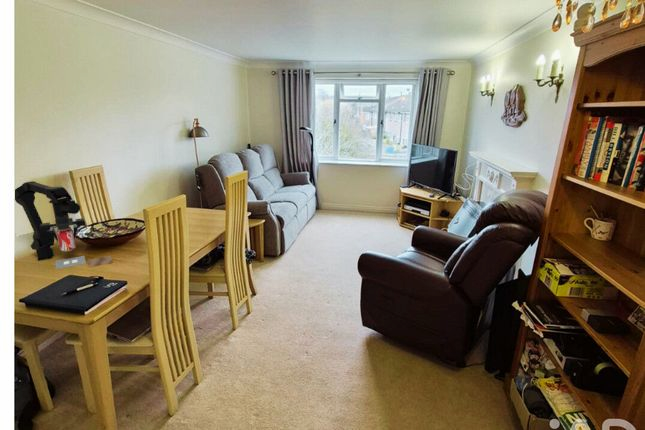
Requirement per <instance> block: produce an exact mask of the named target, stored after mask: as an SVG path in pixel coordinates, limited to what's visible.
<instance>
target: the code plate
mask: <svg viewBox="0 0 645 430" xmlns="http://www.w3.org/2000/svg"><path fill="white" fill-rule="evenodd" d="M86 262H87V261H86V258H85V255H82V256H75V257H69V258H64V259H59V260H55V270H59V269H65V268H70V267H75V266H80V265H81V266H82V265H85V264H87V263H86Z"/></svg>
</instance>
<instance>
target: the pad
mask: <svg viewBox="0 0 645 430" xmlns="http://www.w3.org/2000/svg"><path fill="white" fill-rule="evenodd" d="M112 263H114V261H113V258H112V255H105V256H102V257H101V256H99V257H96V258H89V259H87V265H88V268H93V267H98V266H103V265H108V264H112Z"/></svg>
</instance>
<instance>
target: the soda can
mask: <svg viewBox="0 0 645 430" xmlns="http://www.w3.org/2000/svg"><path fill="white" fill-rule="evenodd" d="M56 230H57V231H56V234H57V238H58V247H59V250H60V251H62V252H71V251H73V250H74V249H76V240H75V239H76V238H75V239H74V230H73V228H72V227H71V226H69V228H68V229H61V230H59V229H58V228H57V229H56Z"/></svg>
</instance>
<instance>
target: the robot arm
mask: <svg viewBox="0 0 645 430" xmlns="http://www.w3.org/2000/svg"><path fill="white" fill-rule="evenodd" d="M14 190H15V199H14V202H15V203H17V205H18V204H19V205H20V206H22V209H23V211H24V213H25V214H26V217H27V220H28V222H29V224H30V226H31V228H32V230H33V234H32V240H33V241H32V243H31V245H30V248H31V249H32V250H34V251H36V255H37V261H42V260H48V259H53V258H54V249H53V247H52V246H54V245H55V241H56V242H58V238H57V231H56V228H57V229H59V230H61V229H68V228H69V227H70V226H73V227H72V230H73V234H74V239H76V236H77V232H78V229H79V228H81V227H84V226H86V219H85V218H75V220H73V217H69V215H70V214H72V215H76V214H78V213H79V212H80V210H81V205H80V204H78V202H76V201H75V200H73V197H72V196H71V194H70V193H69V192H68V191H67V189H65V187H64V186H50V185H46V184H42V183H40V182H37V181H35V180H34V181H27V182H23V183H22V184H21V185H20V186H18V187H16V188H15V189H14ZM36 193H38V194H41V195H44V196H45V197H46V198H47V199H49V201H48V203H49V204H51V206H52V209H53V214H54V219H55V220H54V222H55V223H51V222H44V223H43V221H42V218H41V217H40V213H39V212H38V209H37V207H36V205H35V200H36V195H35V194H36Z"/></svg>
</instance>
